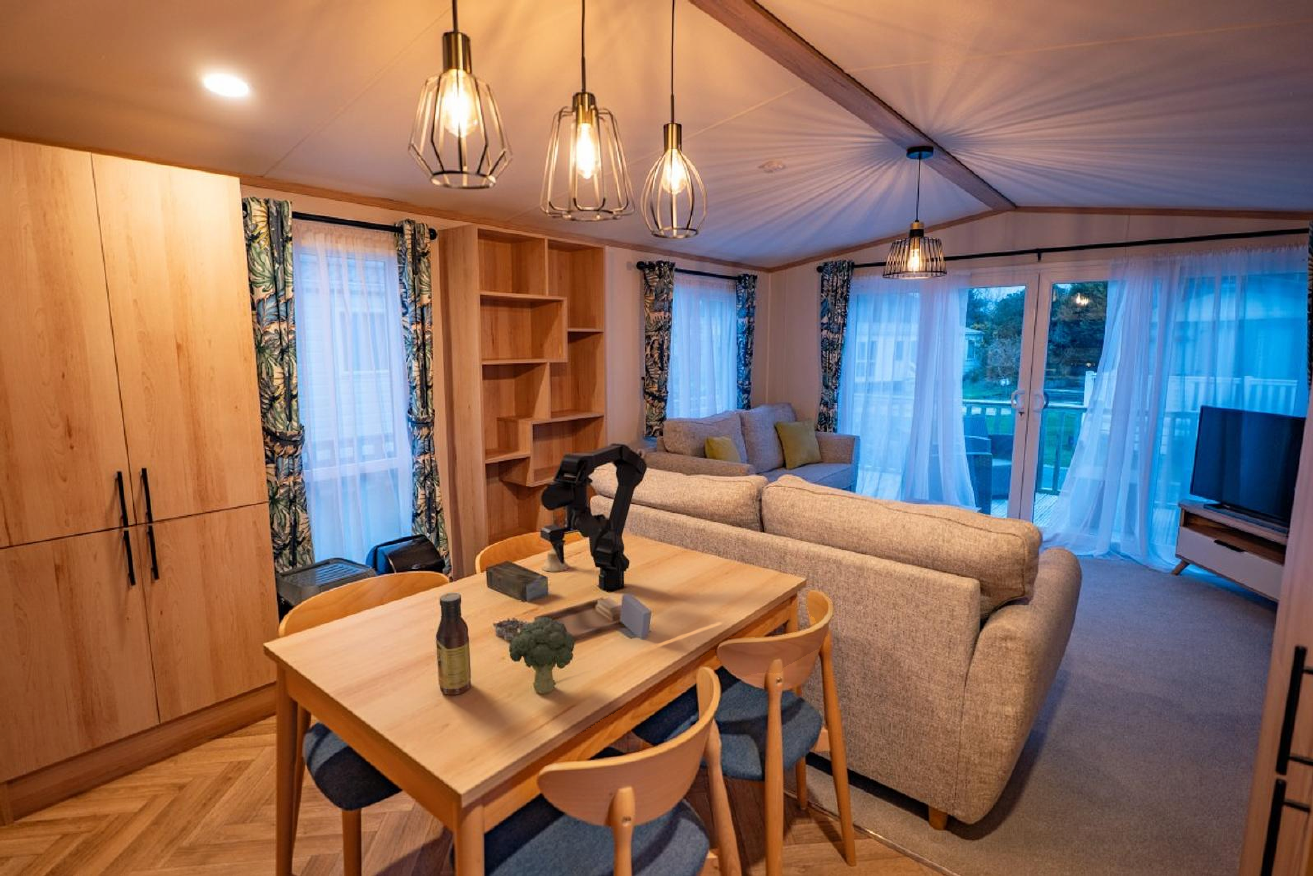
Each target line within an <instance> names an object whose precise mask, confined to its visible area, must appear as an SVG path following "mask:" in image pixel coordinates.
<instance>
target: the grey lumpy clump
mask: <svg viewBox="0 0 1313 876" xmlns="http://www.w3.org/2000/svg"><path fill="white" fill-rule="evenodd" d="M531 623H532V622H530V621H529V622H527V621H525V620H518V618H516V617H513V618H512V619H510V618H507V619H506V620H504V619H503V620H502V621H498V622H493V623H492V625H493V627H494V628H495V637H497V638H499V637H503V641H504V642H512V641H513V640H514V639H515V638H516V635H519V632H520V631H521V628H522V627H523V626H525V625H530V624H531ZM518 631H519V632H518Z"/></svg>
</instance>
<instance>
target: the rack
mask: <svg viewBox="0 0 1313 876" xmlns="http://www.w3.org/2000/svg"><path fill="white" fill-rule="evenodd" d="M602 599H605V598H604V597H600V598H596V599H593V600H590V601H586V602H582V603H578V604H575V605H571V606H569V607H566V608H562V609H558V610H553V611H551V612H547V613H543V614H541V615H537V616H534V617H533V622H534V621H537V620H538V619H540V618H542V617H547V618H550V619H552V620H556V621H557V622H562V623H563V624H564V625H565V627H566V630H567V632H568V633H570V634H571V635H572V636H573V638H574V642H576V641H579V640H582V639H586V638H588V637H591V636H595V635H598V634H601V633H604V632H606V631H610V630H613V629H616V628H617V629H618V628H621V627H622V626H625V625H624V624H623V623H622V622H621V621H620V619H618V620H614V621H611V620H610V619H608V618H607V617H605V616H604V615H602V614H601V613H599V612H598V611H596V605H597V604H598V600H602Z"/></svg>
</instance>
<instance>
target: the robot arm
mask: <svg viewBox="0 0 1313 876" xmlns="http://www.w3.org/2000/svg"><path fill="white" fill-rule="evenodd" d="M609 463H612V465H613V466H614V467H615V469H616V470H615V478H616V480H617V486H616V492H615V495H614V497H613V502H612V506H611V509H610V513H609V516H608V517H606V515H605V514H604V513H600V514H594V515H593V513H592V509H591V506H589V504H588V503H589V500H588V499H589V497H588V495H589V494H588V493H589V492H588V491H589V490H588V485H589V484H592V483H593V482H594V481H593V479H592V478H590V477H589V476H590V475H592V474H594V472H595V470H596V469H597V468H599V467H603V466H605V465H607V464H609ZM647 469H648V465H647V463H646V460H645V459H644V458H643V457H642V456H641V455H640V454H638V453H636V452H635V451H634V450H632V449H631V448H630V447H629V446H628V445H627V444H625V443H617V442H614V443H611V444H609V445H607V446H604V447H601V448H598V449H595V450H591V451H589V452H586V453H585V452H583V453H576V452H575V453H572V452H571V453H566V454H564V455H563V456H562V460H561V461H560V463H559V466H558V468H557V470H556V472H555V475H554V477H553V479H552V480H553V481H552V482H547V484H546V488H545V489H543V491H542V492H541V496H540V500H541V503H542V506H543V507H544V508H545V510H547V511H551V512H552V511H555V510H559V509H563V510H565V519H564V520H563V525H565V526H562V527H561V526H560V525H559V526H557V525H555V524H554V525H552V524H551V525H550V524H549V525H545V526H542V528H541V530H540V533H539V534H540V538H542V539H544V540H545V541H547V542H549V543H550V545H551V546H552V548H554V550H555V552H556V554H557V556H558V558H559V560H560V563H561V564H564V561H565V550H564V549H565V546H564V545H565V543H566V540H564V538H566V537H565V536H566V535H569V534H573V533H580V535H581V537H583V538H588V540H589V541H588V543H589V552H590V553H589V554H590V556H591V557H592V560H593V563H594V566H595V568H599V574H598V585H597V586H596V587H598V588H599V589H600V590H602V591H605V592H606V593H614V592H617V591H621V590H624V589H628V586H626V585H625V572H627V570H628V569H629V567H630V560H629V558H628V557H627V556H626V555H625V554H624V553H625V552H624V551H625V544H624V539H623V533H624V530H625V526H626V522H627V517H628V514H629V510H630V508H631V504H632V500H633V495H634V492H635V489H636V487H638V486H639V485H640V484H641V483H642V482H643V480H644V477H645V474H646V472H647Z"/></svg>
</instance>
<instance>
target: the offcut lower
mask: <svg viewBox="0 0 1313 876" xmlns="http://www.w3.org/2000/svg"><path fill="white" fill-rule="evenodd" d="M596 611H598V612H599V613H601V614H602V615H604V616H605V617H607V618H608V619H610V620H611V621H614V620H618V619H620V615H621V611H619V612H615V613H612V614H609V613H608V612H606V611H605V610H603V609H601V608H600V607H598V604H597V605H596Z"/></svg>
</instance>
